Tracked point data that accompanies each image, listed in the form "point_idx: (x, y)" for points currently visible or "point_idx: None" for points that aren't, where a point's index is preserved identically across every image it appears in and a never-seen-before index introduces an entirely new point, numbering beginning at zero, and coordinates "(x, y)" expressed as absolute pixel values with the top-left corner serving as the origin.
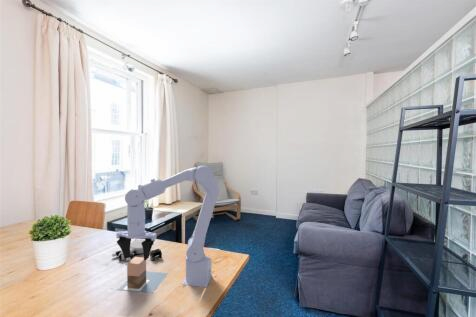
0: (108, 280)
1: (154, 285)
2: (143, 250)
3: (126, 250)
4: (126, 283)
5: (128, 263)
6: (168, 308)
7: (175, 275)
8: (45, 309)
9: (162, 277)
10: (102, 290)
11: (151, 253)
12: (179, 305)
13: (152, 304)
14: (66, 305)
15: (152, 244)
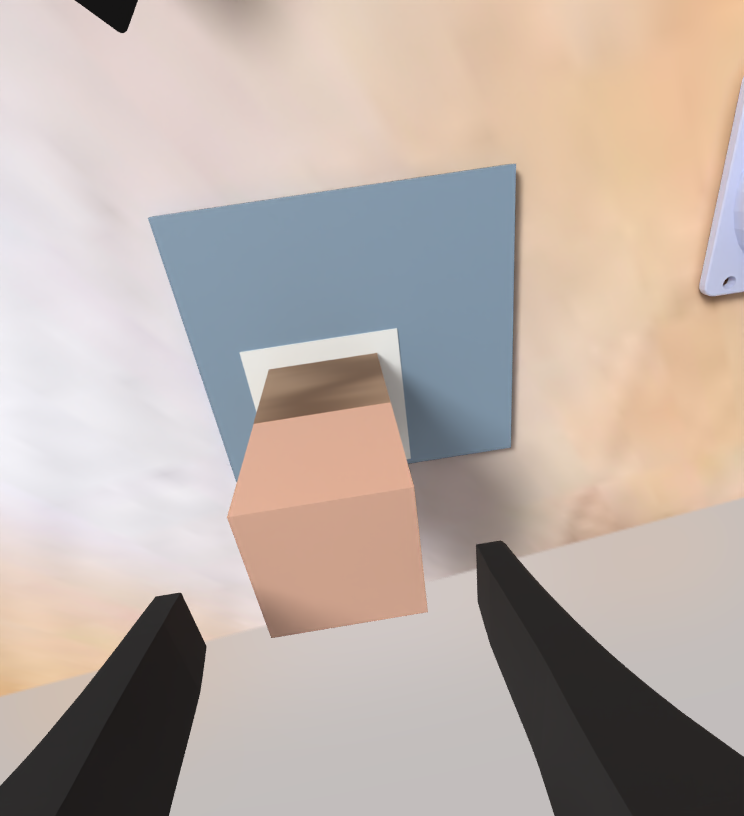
0: (29, 417)
1: (480, 376)
2: (550, 794)
3: (158, 763)
4: (235, 422)
5: (288, 630)
6: (658, 498)
7: (593, 156)
8: (18, 676)
9: (491, 256)
10: (129, 509)
11: None
12: (717, 464)
13: (553, 502)
14: (83, 636)
15: (696, 735)
